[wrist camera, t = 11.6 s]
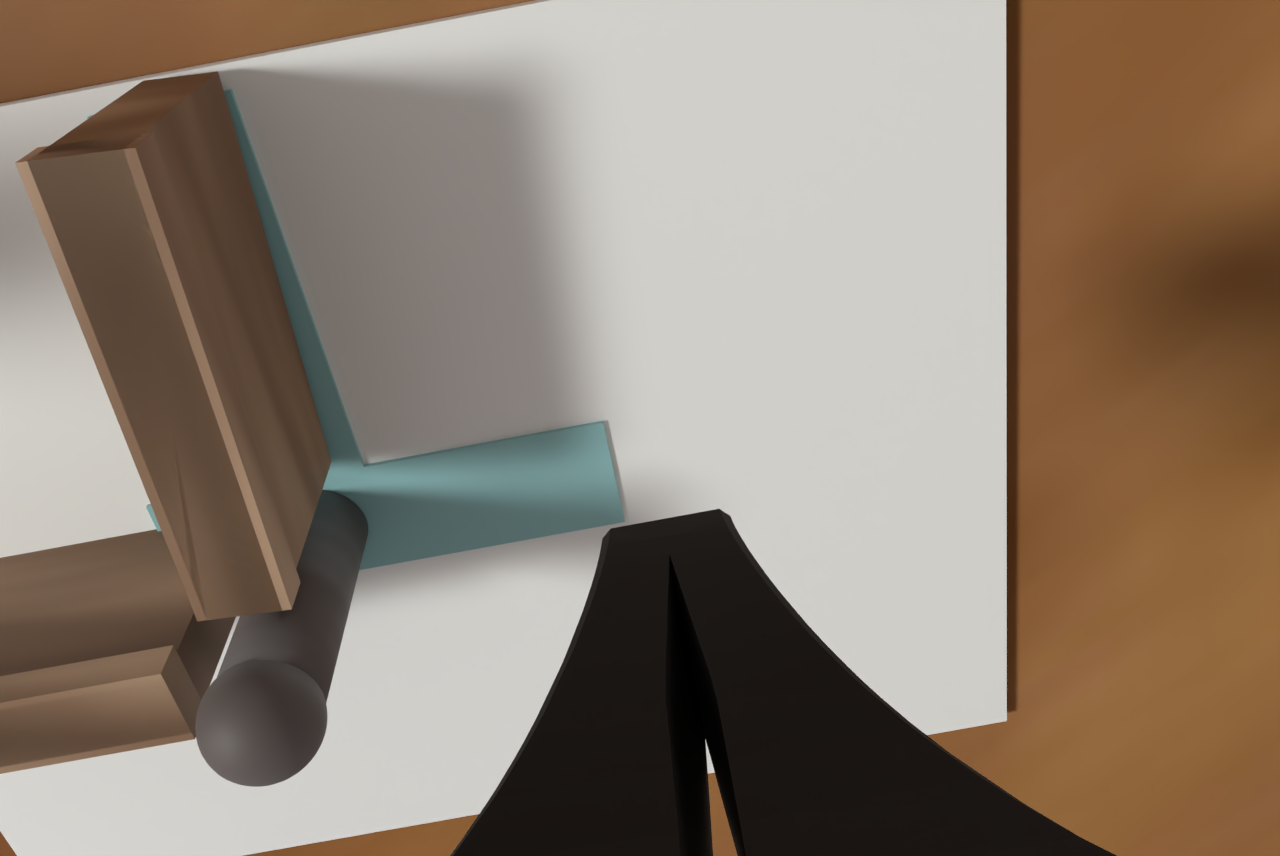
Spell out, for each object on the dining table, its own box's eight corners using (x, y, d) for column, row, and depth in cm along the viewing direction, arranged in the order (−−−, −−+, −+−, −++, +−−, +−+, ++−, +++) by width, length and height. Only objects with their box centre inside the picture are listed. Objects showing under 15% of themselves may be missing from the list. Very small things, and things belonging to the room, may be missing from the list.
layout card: (1002, 711, 27) (1008, 723, 26) (46, 880, 27) (40, 894, 27) (999, -90, 18) (1008, -88, 17) (-427, 186, 18) (-446, 193, 18)
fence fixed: (386, 554, 23) (332, 802, 17) (-81, 639, 23) (-285, 911, 17) (357, 474, 22) (290, 710, 16) (-130, 564, 22) (-363, 826, 16)
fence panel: (227, 70, 18) (135, 147, 14) (339, 460, 21) (291, 608, 17) (133, 81, 18) (14, 162, 14) (262, 470, 21) (197, 621, 17)
